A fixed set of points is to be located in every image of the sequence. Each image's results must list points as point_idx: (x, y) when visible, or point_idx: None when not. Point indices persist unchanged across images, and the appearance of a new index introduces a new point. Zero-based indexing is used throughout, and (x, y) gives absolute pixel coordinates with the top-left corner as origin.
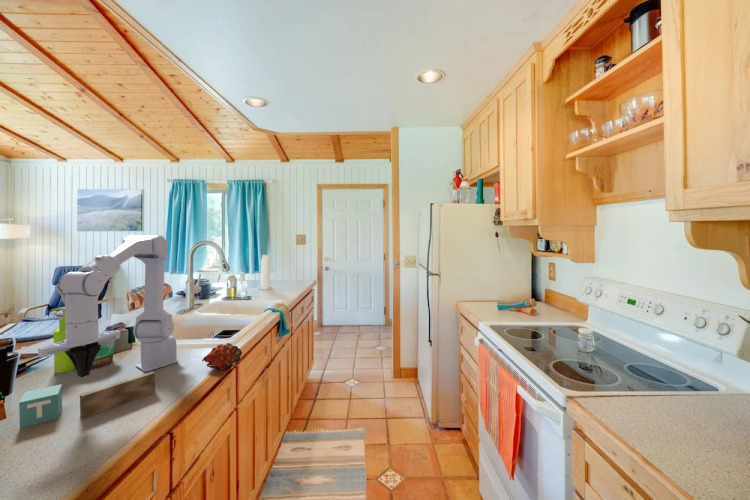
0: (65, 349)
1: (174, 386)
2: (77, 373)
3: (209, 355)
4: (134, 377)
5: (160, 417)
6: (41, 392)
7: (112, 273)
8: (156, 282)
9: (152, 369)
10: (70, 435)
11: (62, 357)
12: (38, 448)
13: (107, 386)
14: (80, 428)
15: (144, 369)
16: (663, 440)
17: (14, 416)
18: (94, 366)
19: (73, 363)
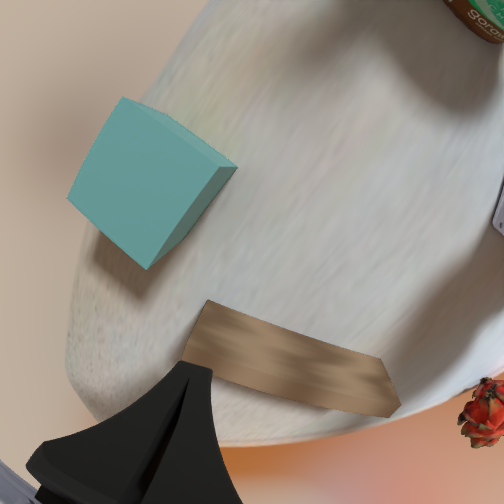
0: (33, 499)
1: (400, 386)
2: (173, 368)
3: (489, 412)
4: (352, 398)
5: (259, 445)
6: (132, 176)
7: None
8: None
9: (502, 234)
10: (149, 350)
11: None
12: (103, 328)
13: (267, 380)
14: (173, 348)
15: (500, 210)
16: None
17: (157, 85)
18: (466, 17)
19: (131, 408)
